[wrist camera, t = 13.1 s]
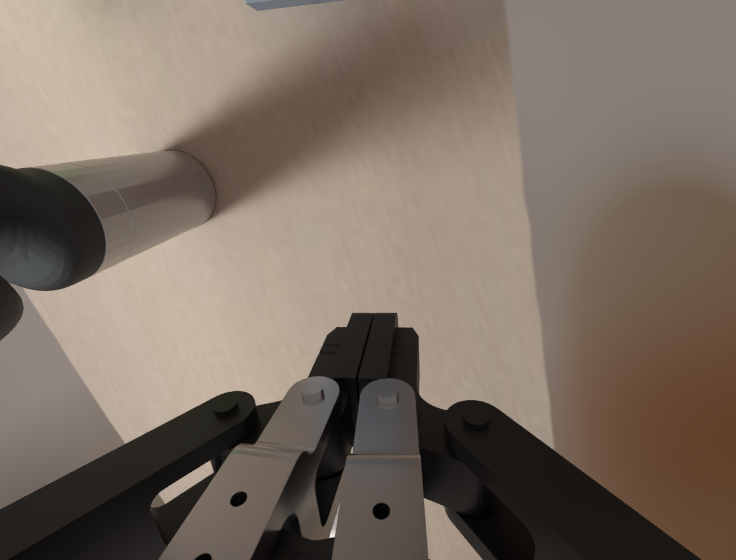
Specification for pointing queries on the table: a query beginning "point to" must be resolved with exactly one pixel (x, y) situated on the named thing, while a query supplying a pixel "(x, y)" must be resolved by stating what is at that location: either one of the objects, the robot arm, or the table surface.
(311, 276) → the table surface
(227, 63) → the table surface
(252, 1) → the panel
